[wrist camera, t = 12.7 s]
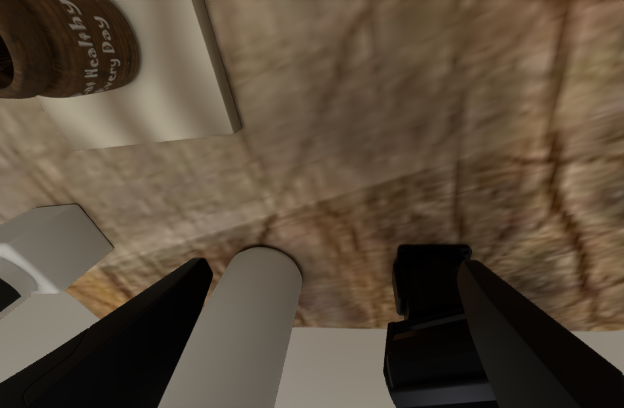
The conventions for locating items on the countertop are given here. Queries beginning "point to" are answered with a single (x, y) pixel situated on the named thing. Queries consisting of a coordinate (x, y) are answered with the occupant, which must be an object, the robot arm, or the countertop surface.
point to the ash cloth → (156, 84)
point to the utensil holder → (64, 48)
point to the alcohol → (240, 336)
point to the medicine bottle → (46, 252)
